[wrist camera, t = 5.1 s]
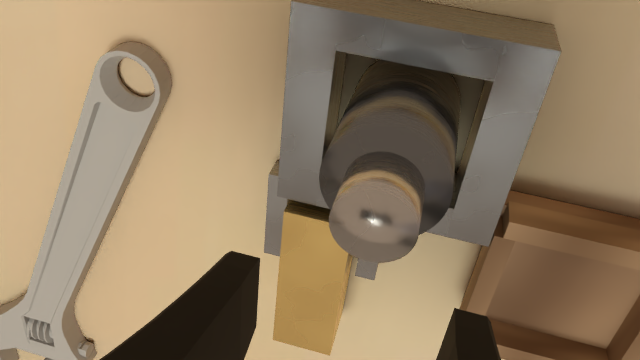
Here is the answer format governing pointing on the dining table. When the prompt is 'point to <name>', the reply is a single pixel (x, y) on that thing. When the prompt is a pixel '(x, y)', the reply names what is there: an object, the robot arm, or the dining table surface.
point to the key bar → (309, 279)
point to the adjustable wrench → (85, 207)
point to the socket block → (421, 51)
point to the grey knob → (392, 160)
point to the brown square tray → (559, 282)
